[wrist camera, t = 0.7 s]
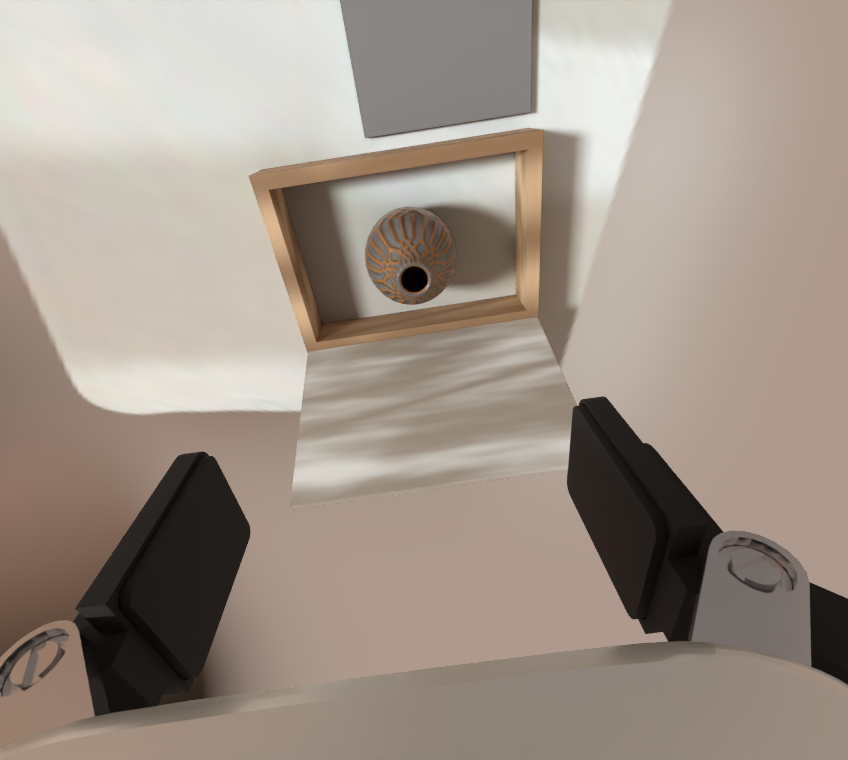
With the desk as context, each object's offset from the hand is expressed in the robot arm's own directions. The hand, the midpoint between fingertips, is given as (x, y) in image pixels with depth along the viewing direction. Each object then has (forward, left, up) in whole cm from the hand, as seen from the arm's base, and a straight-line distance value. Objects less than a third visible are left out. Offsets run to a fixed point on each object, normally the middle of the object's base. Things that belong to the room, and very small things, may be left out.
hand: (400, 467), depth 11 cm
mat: (-12, +5, -27) cm, 30 cm away
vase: (+2, +1, -27) cm, 27 cm away
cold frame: (+4, +1, -27) cm, 28 cm away
